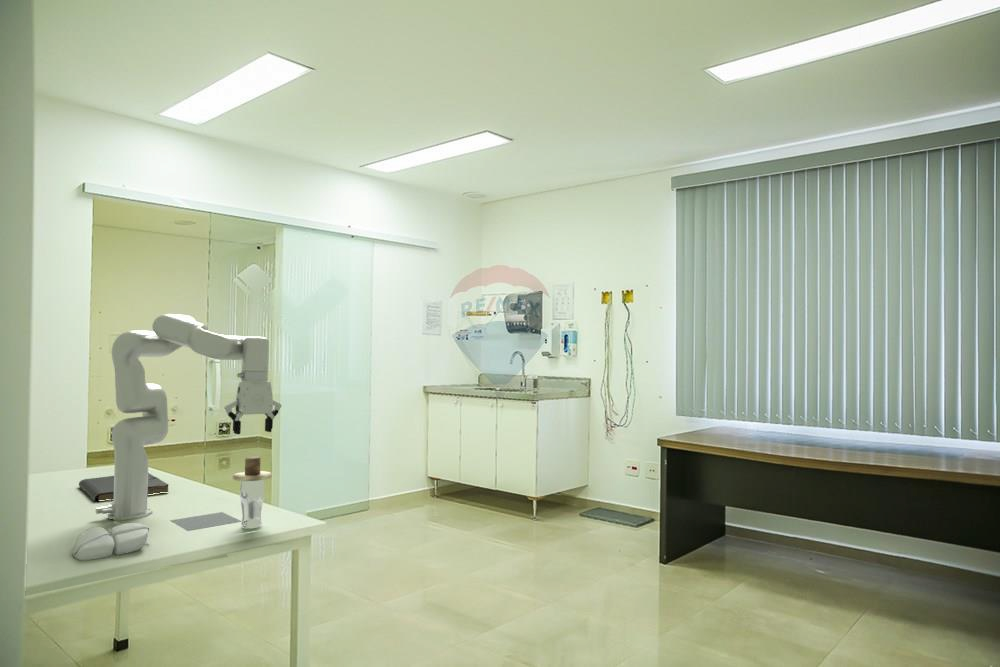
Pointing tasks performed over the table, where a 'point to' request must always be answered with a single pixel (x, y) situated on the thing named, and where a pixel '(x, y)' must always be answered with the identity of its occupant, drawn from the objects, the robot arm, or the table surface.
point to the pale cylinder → (251, 503)
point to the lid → (252, 471)
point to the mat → (205, 521)
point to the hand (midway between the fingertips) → (252, 432)
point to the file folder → (105, 486)
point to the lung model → (110, 541)
